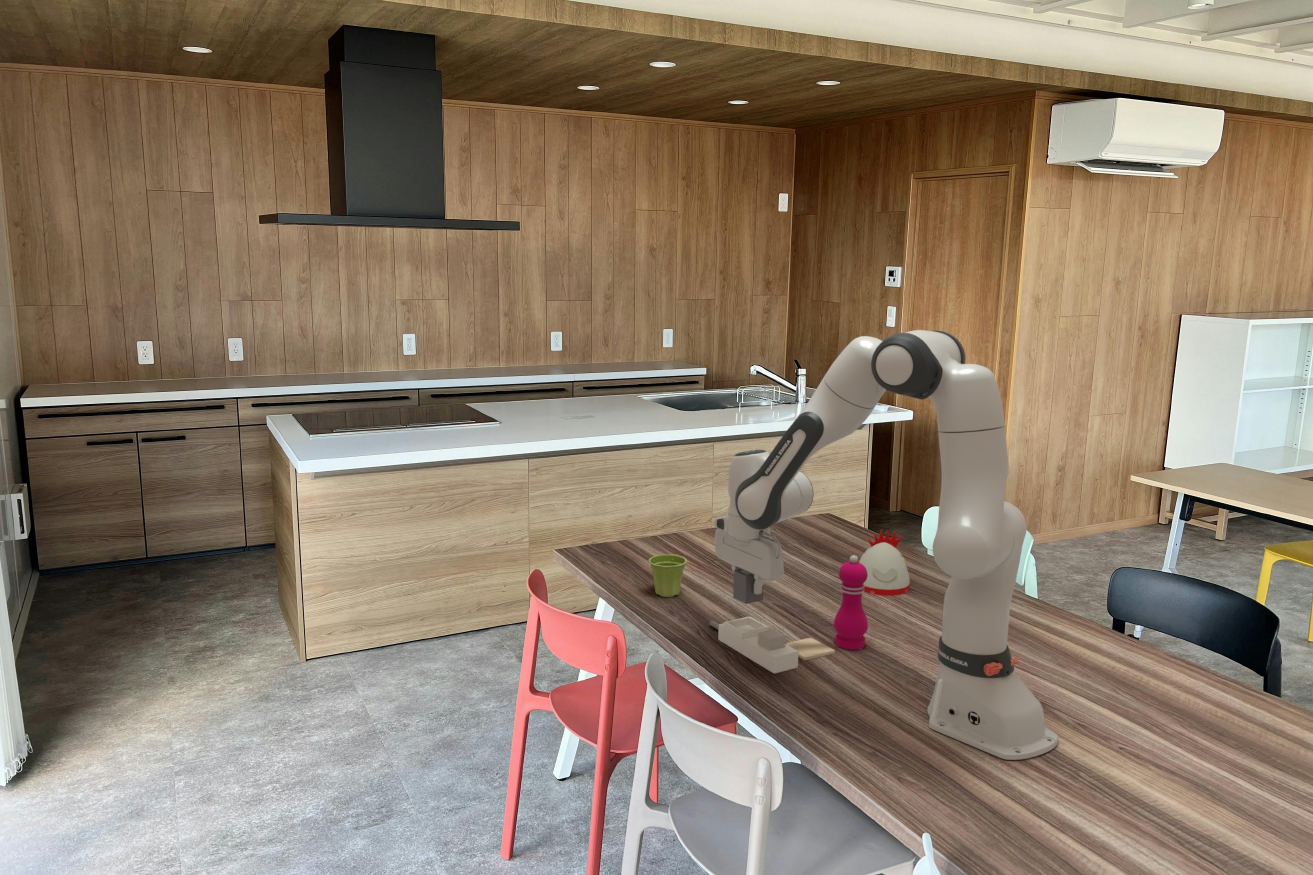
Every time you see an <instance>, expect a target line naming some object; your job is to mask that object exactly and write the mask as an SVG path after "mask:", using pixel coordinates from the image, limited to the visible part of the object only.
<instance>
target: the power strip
mask: <svg viewBox="0 0 1313 875" xmlns="http://www.w3.org/2000/svg"><path fill="white" fill-rule="evenodd" d="M709 626H711V627H712V628H714V629H716V630H718V631H717V632H718V635H717V636H718V638H717V639H718V641H719V642H721V643H723V644H725V645H726V646H728V647H730V648H731V649H733V650H735V651H737V652H738V653H739V654H741V655H743V656H744V657H746V658H748V659H750V660H751V661H753V662H754V663H756V664H758V665H759V666H761V667H763V668H764V669H765V670H767V671H769V672H771V673H772V674H779V673H782V672H786V671H790V670H793V669H797V668H798V667H799V657H798V651H797V650H795V649H793V648H792V647H790V646H788V645H786V644H785V643H786V634H784V633H781V632H780V631H778V630H777V629H774V628H772V629H770V627H769V625H766V624H765V623H763V622H761V621H759V620H758V619H755V618H754V617H752V616H745V617H741V618H735V619H730V620H725V621H723V623H718V622H716V621H714V620H710V621H709Z"/></svg>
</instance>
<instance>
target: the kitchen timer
mask: <svg viewBox="0 0 1313 875" xmlns="http://www.w3.org/2000/svg"><path fill="white" fill-rule="evenodd" d="M879 531H880V532H879V535H878V536H879V537H878V536H877V535H876V533H874V534H873V536H874V542H872V541H871V539H870V537H868V543H869V547H868V548H867V549H866V551H864V553H863V554H862V555H861V557H860V559H859V560H858V562H859V563H861V564H863V565H864V566H865V568H866V569H867V574H868V576H867V580H866V581H865V582H864V583H863V584H864V586H865V587H864V592H863V593H866V594H870V595H875V596H882V597H883V596H884V597H886V596H889V597H891V596H892V597H893V596H900V595H904V594H906V593H908V592H909V591H910V586H911V580H910V575H909V571H908V566H907V562H908V560H906V558H904V556H903V555H902V553H901V552H900V550H899V549H898V548H897V547H898V545H899V543H900V541H901V539H902V535H900V536H899V537H898V538H897V539H896V536H897V535H896V531H893V533H892V536H891V538H890V534H889V531H888V529H887V530H886V532H885V536H884V534H883V529H880V530H879Z"/></svg>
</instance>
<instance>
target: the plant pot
mask: <svg viewBox="0 0 1313 875" xmlns="http://www.w3.org/2000/svg"><path fill="white" fill-rule="evenodd" d="M648 563H649V564H650V568H651V571H652V577H653V584H654V585H653V586H654V590H655V591H654V592H655V594H656V595H659V596H660V597H663V598H672V597H674V596H679V595H680V593H681V586H682V581H683V574H684V569H685V567H686V565H687V558H686V557H684V556H681V555H677V554H657V555H654V556H652V557H650V558H649V559H648Z"/></svg>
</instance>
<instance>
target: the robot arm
mask: <svg viewBox="0 0 1313 875" xmlns="http://www.w3.org/2000/svg"><path fill="white" fill-rule="evenodd" d="M995 376H996V375H994V372H992V370H990V369H989V368H988V367H986V366H984V365H980V364H975V363H966V351H965V349H964V346H963V344H962V343H961V341H960V340H959V339H958V338H957V337H956V336H954V335H952V334H950V333H948V332H945V331H942V330H938V329H937V330H926V329H925V330H924V329H916V330H910V331H906V332H899V333H895V334H893V335H890V336H888V337H886V339H884V340H881V339H879V338H876V337H874V336H869V335H868V336H867V335H861V336H858V337H855V338H853V339H852V340H851V341H850V343H848V344H847V345H846V347H845V348H844V349H843V350H842V351H841V353H840V354H839V355H838V356H837V357H836V359H835V360H834V361H833V362H832V364H831V365H830V367H828V370H827V372H826V373H825V375H824V376H823V378H822V379H821V381H820V383H819V385H818V386H817V388H816V389H815V391H813V394H812V395H811V397H810V398H809V400H808V401H807V403H806V404H805V406H804V407H803V409H802V410H801V411H800V413H799V414H798V416H797V417H796V418H795V420H794V421H793V422H792V424H791V425H790V426H789V427H788V428H787V430H786V431H785V432H784V434H783V435H782V437H781V438H780V439H779V440H778V442H777V443H776V445H775V446H774V448H773V449H772V451H771V452H770V453H769V451H767V450H764V449H751V450H746V451H742V452H737V453H736V454H734V455H733V456H732V458H731V460H730V464H729V468H728V469H729V470H728V484H727V485H728V487H727V488H728V489H727V491H728V496H729V507H728V511H727V512H728V514H727V515H723V516H719V517H716V518H715V519H714V527H715V528H716V530H715V532H714V550H715V555H716V556H717V558H718V559H720V560H722V561H723V562H726V563H727V564H730V565H731V571H732V573H733V575H734V571H735V570H740V569H743V570H746V571H748V572H750V573H752V574H754V579H756V580H755V583H754V585H751V592H752V593H754V594H756V595H757V594H761V593H762V586H763V587H764V584H765V582H766V581H768V582H773V581H777V580H781V579H782V578H783V577H784V574H785V566H784V565H785V563H784V555H783V554H784V553H783V552H784V551H783V549H782V546H781V543H780V541H779V539H777V538H778V537H777V536H776V535H774V534H771V527H772V526H774V525H776V524H777V523H780V522H784V521H786V520H789V519H791V518H794V517H797V516H800V515H801V514H803V513H805V512H806V511H808V510H809V509H810V508H811V506H812V504H813V502H814V501H813V500H814V488H813V485H812V482H811V480H810V479H809V477H808V476H807V475H806V474H805V473H804V472H802V471H801V469H802V467H803V466H804V465H805V464H806V462H807V461H808V460H809V459H810V458H811V457H812V456H813V455H814V454H816V453H817V452H819V451H820V450H822V449H823V448H825V447H827V446H829V445H830V444H832V443H834V442H836V441H839V440H841V439H844V438H846V437H847V436H850V435H852V434H853V433H854V432H856V431H857V430H858V429H859V427H861V426H862V425H863V424H864V423H865V421H866V420H867V419H868V417H869V416H870V415H871V414H872V412H873V411H874V409H875V408H876V406H877V405H878V403H879V401H880V400H881V398H882V397H883V395H884V394H885V392H886V391H888V392H890V393H893V394H896V395H901V396H905V397H910V398H914V399H918V400H921V401H923V400H926V399H927V398H928V399H929V400H930V401H931V402H932V403H933V405H934V408H935V414H936V419H937V431H938V432H937V433H938V443H939V444H938V445H939V455H940V468H941V483H940V495H939V496H940V497H939V506H938V518H937V520H938V521H937V529H936V532H935V535H934V539H933V543H932V555H933V558H934V561H935V563H936V565H937V566H938V567H939V568H940V569H941V571H942V572H943V573H945V574H947V576H950V580H949V584H948V587H947V590H946V592H945V594H944V598H943V610H942V612H943V613H942V625H941V626H942V627H941V628H942V629H941V635H940V637H939V640H938V646H937V660H939V662H938V663H939V664H938V669H937V677H936V681H935V684H934V689H933V693H932V696H931V699H930V701H929V704H928V707H927V710H926V712H927V715H928V717H929V720H928V728H930V729H931V730H934V731H936V732H938V733H940V734H943V735H945V736H948V737H950V738H953V739H955V740H957V741H959V742H962V743H964V744H966V745H968V746H971V747H974V748H976V749H979V750H981V751H983V752H986V753H988V754H991V755H993V756H995V757H997V758H1000V759H1003V760H1006V761H1007V760H1008V761H1009V760H1010V761H1011V760H1015V761H1016V760H1017V761H1019V760H1026V759H1031V758H1034V757H1038V756H1040V755H1043V754H1045V753H1048V752H1050V751H1052V750H1053V749H1055V748H1056V747H1057V745H1058V743H1059V735H1058V734H1057V733H1056V732H1054V731H1052V730H1051V729H1049V728H1048V727H1047V726H1045V714H1044V708H1043V706H1042V703H1041V702H1040V700H1039V699H1038V698H1036V696H1035V695H1034V693H1033V692H1032V691H1031V690H1030V689H1029V688H1028V686H1027V685H1026V684H1025V683H1024V682H1023V680H1022V679H1021V677H1020V676H1018V674H1017V673H1016V672H1015V666H1014V665H1018V664H1020V661H1019V660H1020V659H1021V658H1020V657H1019V656H1018V657H1014V658H1012V653H1011V651H1010V647H1009V645H1008V636H1009V635H1008V634H1009V624H1010V611H1011V604H1012V599H1013V594H1014V589H1015V585H1016V580H1017V575H1018V572H1019V567H1020V562H1021V555H1022V552H1023V550H1022V549H1023V545H1024V542H1025V538H1026V534H1027V522H1026V518H1025V516H1024V514H1023V513H1022V512H1021V510H1020V509H1019V508H1018V507H1017V506H1015V505H1013V504H1012V503H1010V502H1008V501H1005V495H1006V486H1007V480H1008V478H1009V472H1010V466H1009V465H1010V463H1009V455H1008V454H1009V453H1008V443H1007V431H1006V420H1005V413H1004V407H1003V401H1002V396H1001V393H1000V392H1001V391H1000V389H999V384H998V382H997V380H996V379H997V378H996V377H995Z"/></svg>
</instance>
